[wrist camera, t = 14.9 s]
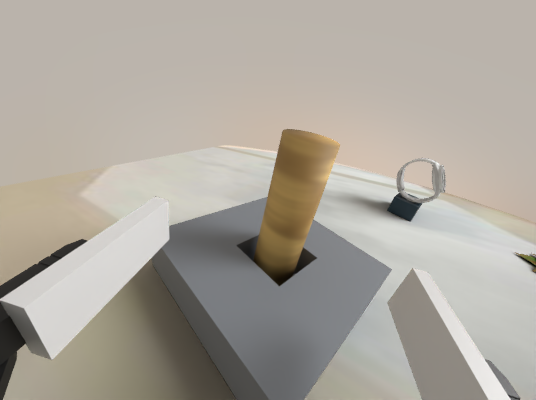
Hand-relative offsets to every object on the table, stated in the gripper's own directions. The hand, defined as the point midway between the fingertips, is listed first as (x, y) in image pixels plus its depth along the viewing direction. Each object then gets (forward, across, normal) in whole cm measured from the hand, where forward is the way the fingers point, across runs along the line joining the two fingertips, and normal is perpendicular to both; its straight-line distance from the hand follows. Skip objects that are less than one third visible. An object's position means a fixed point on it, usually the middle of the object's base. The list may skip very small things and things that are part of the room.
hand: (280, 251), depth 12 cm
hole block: (+6, 0, -9) cm, 11 cm away
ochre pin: (+6, 0, -9) cm, 11 cm away
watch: (+33, +23, -10) cm, 41 cm away
